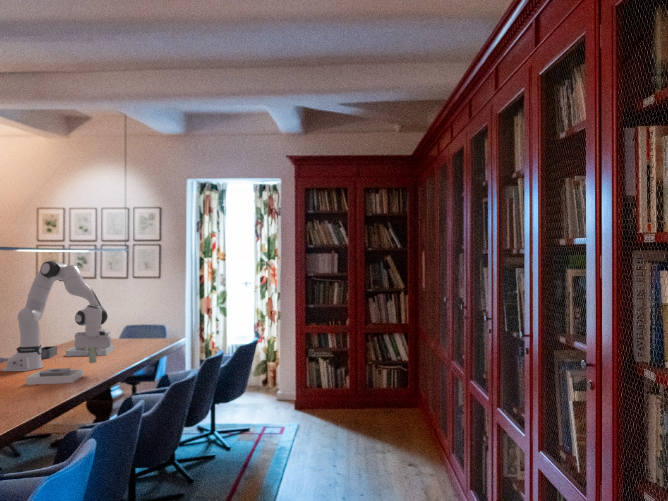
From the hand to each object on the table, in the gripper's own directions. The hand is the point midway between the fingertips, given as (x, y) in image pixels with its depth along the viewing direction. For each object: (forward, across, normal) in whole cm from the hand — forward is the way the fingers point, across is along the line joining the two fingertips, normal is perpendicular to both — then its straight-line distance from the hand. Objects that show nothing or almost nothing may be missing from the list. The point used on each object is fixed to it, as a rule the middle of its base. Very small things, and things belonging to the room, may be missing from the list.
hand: (92, 355), depth 315 cm
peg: (+4, 0, 0) cm, 4 cm away
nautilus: (+11, -23, +76) cm, 80 cm away
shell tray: (+11, -23, +76) cm, 80 cm away
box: (+11, -16, -14) cm, 24 cm away
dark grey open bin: (+12, -50, +68) cm, 85 cm away
